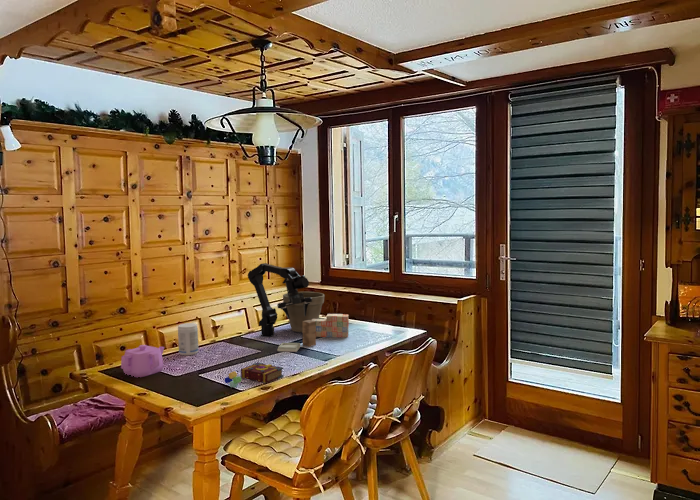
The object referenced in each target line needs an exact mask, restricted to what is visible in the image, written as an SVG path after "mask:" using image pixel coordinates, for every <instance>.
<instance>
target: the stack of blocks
mask: <svg viewBox="0 0 700 500" xmlns="http://www.w3.org/2000/svg"><path fill="white" fill-rule="evenodd" d="M349 316H350V315H349V314H345V313H344V314H343V313H327V315H326V318H319V319H312V321H316V338H319V337H320V338H321V337H323V338H348V337H349V325H350V324H349V323H350V322H349V321H350V320H349Z"/></svg>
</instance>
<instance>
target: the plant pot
mask: <svg viewBox="0 0 700 500" xmlns="http://www.w3.org/2000/svg"><path fill="white" fill-rule="evenodd" d="M300 293H303V296H304V298H306V297H311V298H312V302H309V303H310V304H308V307H307V312H306V316H305V314H304V307H303V304H304V302H303V303H298V304H293V305H288V306H286V308H287V310H288V314H289V317H290V320H289V319H288V323H289V326H290V329H291V331H293V332H296V333H303V321H306V320H312V319H320V315H321V312H322V306H323V304H324V302H325V294H324V293H322V292H317V291H316V292H315V291H298V294H300ZM282 302H285V303H287V302H289V298H288V293H284V294H282ZM291 303H292V302H291Z"/></svg>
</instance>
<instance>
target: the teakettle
mask: <svg viewBox="0 0 700 500" xmlns="http://www.w3.org/2000/svg"><path fill="white" fill-rule="evenodd" d="M164 349H165V346H159V347H156V346H152V345H147V344H140V345H139V346H138V347H136V348H135V347H134V348H132V349H131V348H129V349H125V351H124V355H121V359H120V360H121V361H120V363H121V365H120V369H122V370H123V374H124V373H125V374H124V375H126V374H127V375H126V376H129V375H131V376H130V377H133V376H134V377H133V378H138V377H140V378H143V377H148V376H151V375H154V374H157V373H159V372H162V371H163V368H164V359H163V354H164Z"/></svg>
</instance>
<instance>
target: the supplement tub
mask: <svg viewBox="0 0 700 500" xmlns="http://www.w3.org/2000/svg"><path fill="white" fill-rule="evenodd" d="M198 331H199V330H198V325H197V323H195V322H189V323H187V322H186V323H181V324H179V325H178V326H177V337H178V338H177V339H178V354H179V355H180V356H193V355H196V354H198V353H199V334H198V333H199V332H198Z"/></svg>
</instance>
